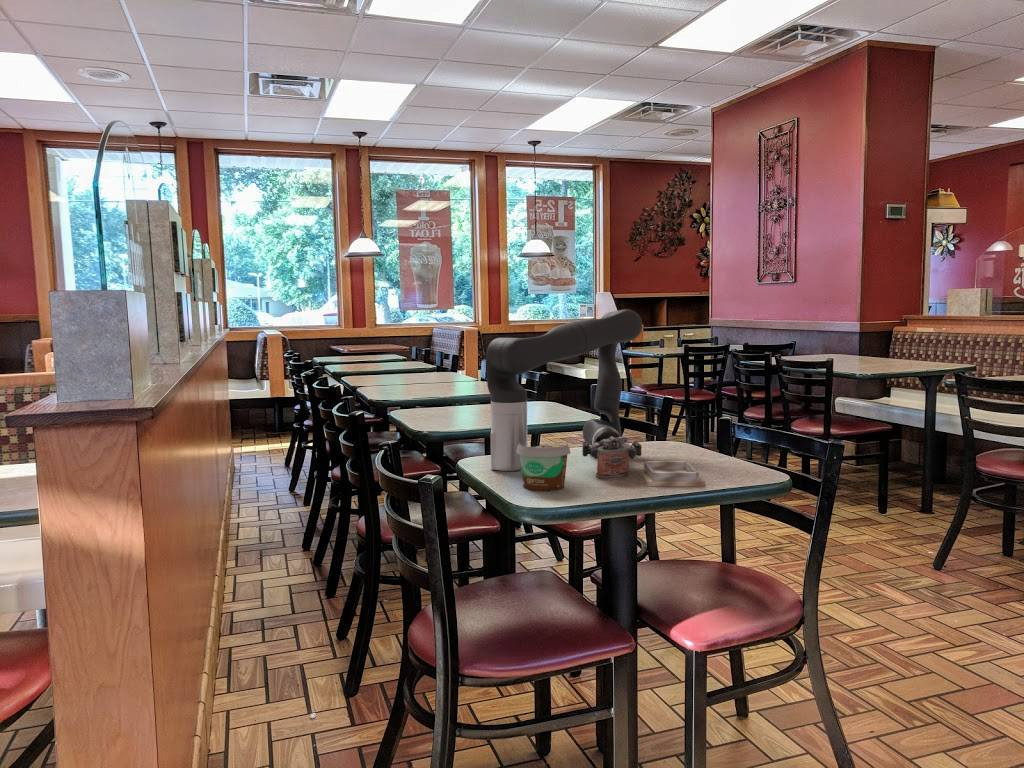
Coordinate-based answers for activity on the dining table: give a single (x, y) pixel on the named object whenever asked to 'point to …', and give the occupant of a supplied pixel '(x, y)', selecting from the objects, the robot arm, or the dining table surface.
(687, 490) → the dining table surface
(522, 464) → the food container
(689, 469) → the tray
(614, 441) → the lighter
